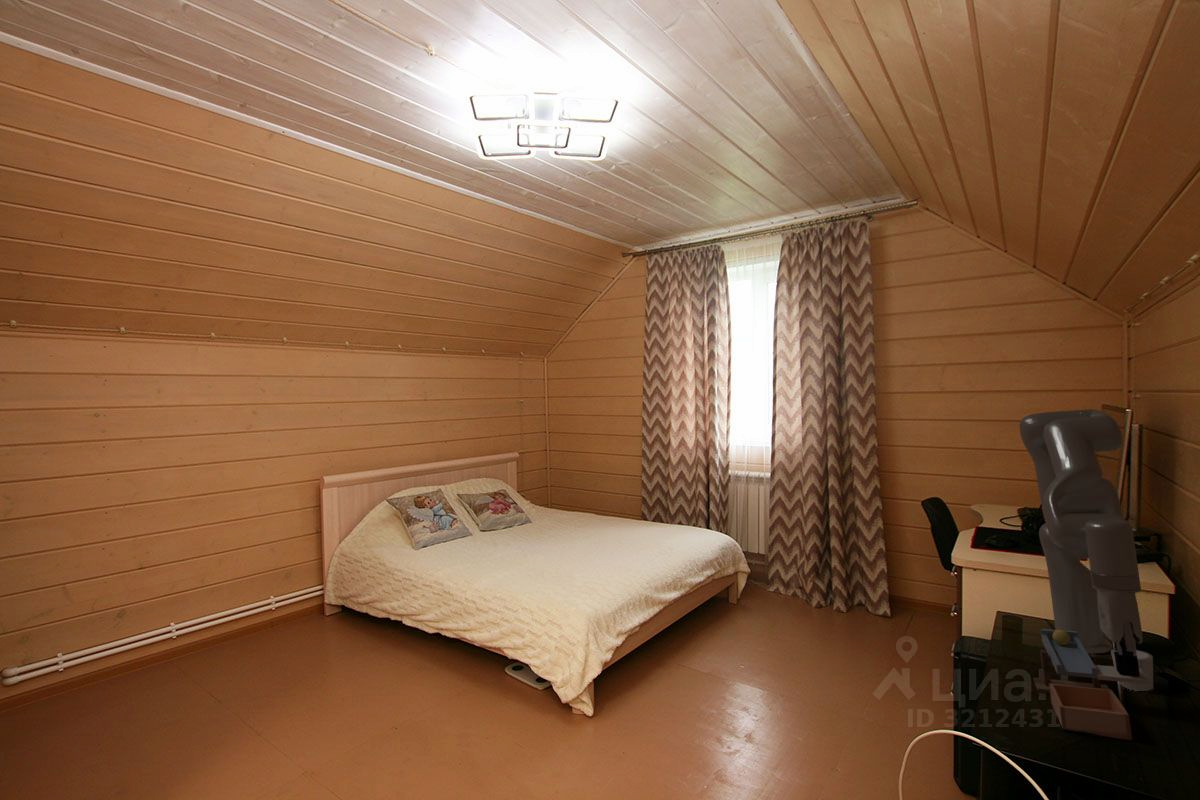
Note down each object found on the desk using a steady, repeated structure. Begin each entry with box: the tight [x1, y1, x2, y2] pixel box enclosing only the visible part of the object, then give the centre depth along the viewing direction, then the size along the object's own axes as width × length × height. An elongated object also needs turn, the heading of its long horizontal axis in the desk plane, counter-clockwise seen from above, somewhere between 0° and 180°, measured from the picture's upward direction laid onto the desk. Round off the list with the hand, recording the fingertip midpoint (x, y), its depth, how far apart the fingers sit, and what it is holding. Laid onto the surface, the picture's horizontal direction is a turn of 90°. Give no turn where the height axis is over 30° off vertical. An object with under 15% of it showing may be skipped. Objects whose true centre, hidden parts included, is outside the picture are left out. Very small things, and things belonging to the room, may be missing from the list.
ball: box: [1053, 629, 1070, 645], centre depth 134 cm, size 3×3×3 cm
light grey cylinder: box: [1110, 648, 1154, 692], centre depth 128 cm, size 7×7×7 cm
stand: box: [1032, 648, 1110, 695], centre depth 128 cm, size 6×13×8 cm, turn 61°
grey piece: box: [1040, 628, 1150, 684], centre depth 127 cm, size 17×15×4 cm
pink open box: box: [1049, 683, 1133, 741], centre depth 115 cm, size 11×10×4 cm
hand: (1128, 673), depth 119 cm, fingers closed
